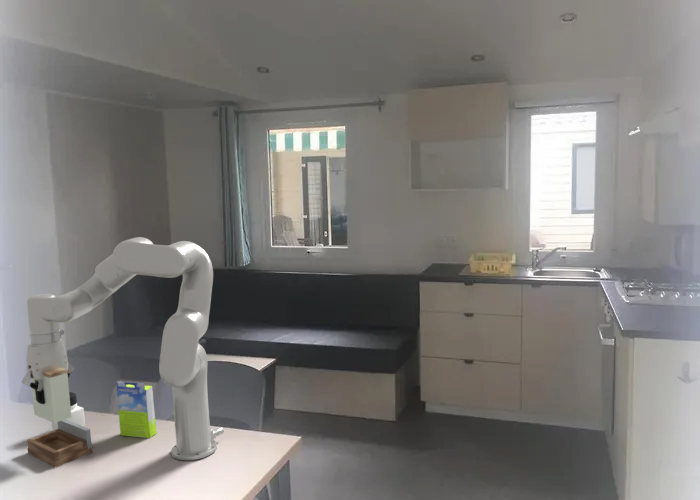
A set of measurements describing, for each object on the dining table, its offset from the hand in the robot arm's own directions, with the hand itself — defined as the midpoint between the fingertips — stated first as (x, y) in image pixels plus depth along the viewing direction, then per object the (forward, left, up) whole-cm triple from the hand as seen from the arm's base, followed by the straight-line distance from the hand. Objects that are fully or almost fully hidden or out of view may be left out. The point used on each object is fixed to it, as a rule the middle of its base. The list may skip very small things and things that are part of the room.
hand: (51, 399), depth 175 cm
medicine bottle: (-11, -13, -17) cm, 23 cm away
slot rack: (0, 0, -16) cm, 16 cm away
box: (-21, +9, -17) cm, 28 cm away
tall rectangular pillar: (0, 0, -5) cm, 5 cm away
